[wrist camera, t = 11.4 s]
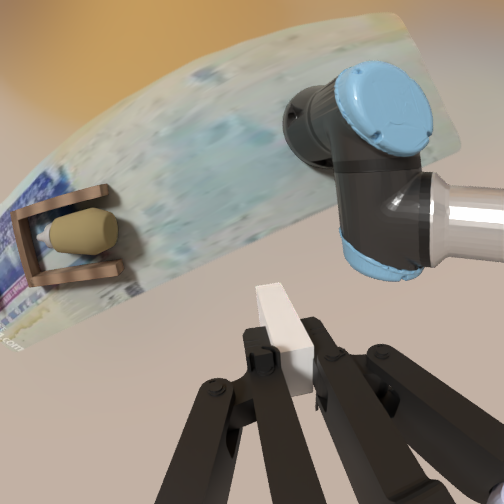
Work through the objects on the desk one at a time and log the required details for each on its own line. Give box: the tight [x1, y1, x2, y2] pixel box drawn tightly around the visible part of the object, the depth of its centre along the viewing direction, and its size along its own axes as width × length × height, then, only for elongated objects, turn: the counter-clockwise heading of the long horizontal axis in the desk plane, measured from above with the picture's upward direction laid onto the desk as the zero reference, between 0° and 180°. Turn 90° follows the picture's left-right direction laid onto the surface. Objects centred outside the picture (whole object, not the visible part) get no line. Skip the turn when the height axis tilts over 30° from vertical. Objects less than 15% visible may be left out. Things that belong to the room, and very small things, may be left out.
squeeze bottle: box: [37, 208, 118, 255], centre depth 41 cm, size 8×8×18 cm
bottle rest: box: [10, 184, 124, 287], centre depth 43 cm, size 23×16×4 cm
